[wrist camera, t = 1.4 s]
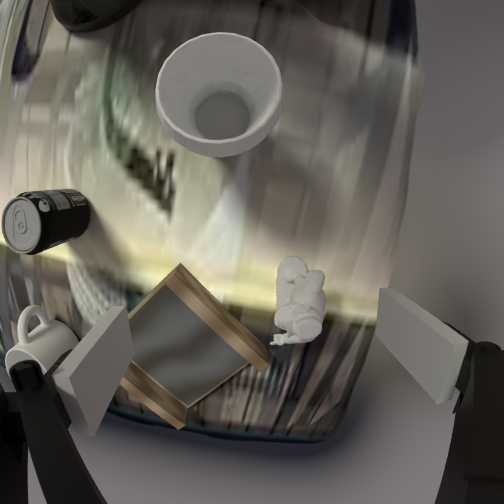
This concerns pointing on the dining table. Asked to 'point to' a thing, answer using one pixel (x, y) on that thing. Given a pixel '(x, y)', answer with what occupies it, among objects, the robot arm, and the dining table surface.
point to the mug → (40, 340)
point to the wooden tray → (185, 346)
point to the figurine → (298, 302)
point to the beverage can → (44, 219)
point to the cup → (219, 94)
